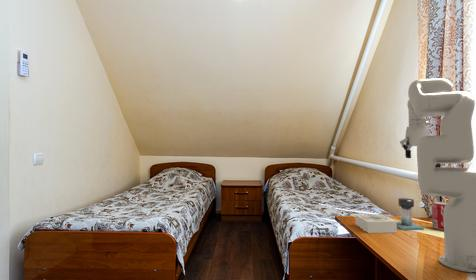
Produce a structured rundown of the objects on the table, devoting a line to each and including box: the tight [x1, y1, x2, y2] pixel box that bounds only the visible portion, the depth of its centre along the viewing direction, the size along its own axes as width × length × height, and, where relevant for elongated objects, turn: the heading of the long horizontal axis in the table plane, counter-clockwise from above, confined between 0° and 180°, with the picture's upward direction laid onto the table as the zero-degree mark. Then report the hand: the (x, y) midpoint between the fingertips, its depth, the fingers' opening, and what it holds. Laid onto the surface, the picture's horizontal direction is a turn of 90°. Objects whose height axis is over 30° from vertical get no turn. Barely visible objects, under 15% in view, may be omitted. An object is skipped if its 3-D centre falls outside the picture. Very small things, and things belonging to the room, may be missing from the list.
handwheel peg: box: [398, 197, 415, 226], centre depth 141 cm, size 6×6×12 cm
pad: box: [397, 221, 425, 231], centre depth 141 cm, size 10×10×1 cm
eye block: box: [355, 213, 398, 234], centre depth 138 cm, size 13×13×5 cm
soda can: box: [431, 201, 448, 231], centre depth 137 cm, size 7×7×12 cm
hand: (418, 157), depth 147 cm, fingers open, 9 cm apart
